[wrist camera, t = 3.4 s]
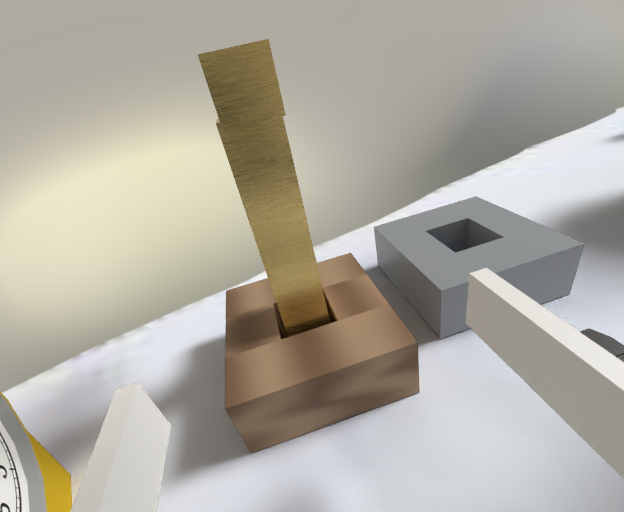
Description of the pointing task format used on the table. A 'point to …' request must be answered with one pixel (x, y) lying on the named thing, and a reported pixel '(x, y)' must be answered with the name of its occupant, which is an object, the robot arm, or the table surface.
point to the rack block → (472, 258)
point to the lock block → (314, 358)
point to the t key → (267, 177)
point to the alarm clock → (28, 470)
